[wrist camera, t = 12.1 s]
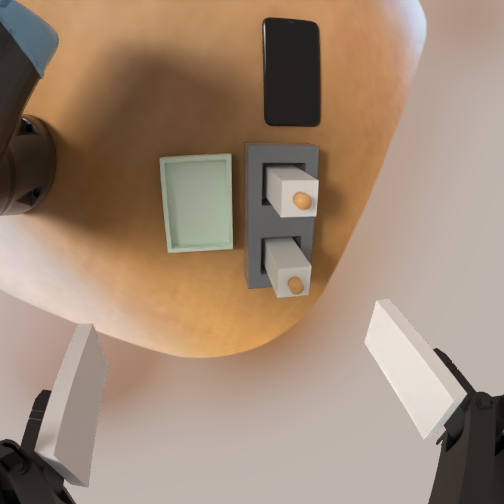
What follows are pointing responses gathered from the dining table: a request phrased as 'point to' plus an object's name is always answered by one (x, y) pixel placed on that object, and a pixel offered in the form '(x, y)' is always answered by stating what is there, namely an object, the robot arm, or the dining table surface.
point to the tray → (197, 202)
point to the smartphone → (291, 72)
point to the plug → (286, 267)
